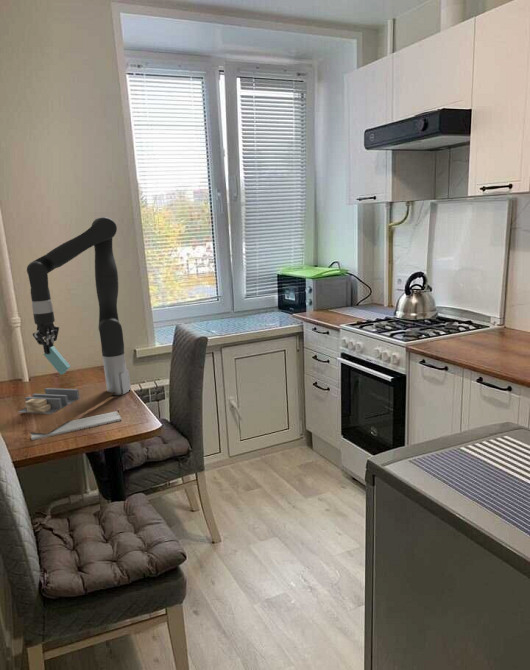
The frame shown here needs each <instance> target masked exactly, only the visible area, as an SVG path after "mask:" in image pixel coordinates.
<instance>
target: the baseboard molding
mask: <svg viewBox="0 0 530 670" xmlns="http://www.w3.org/2000/svg"><path fill="white" fill-rule="evenodd" d="M114 410H115V411H110V412H106V413H102V414H97V415H92V416H87V417H83V418H77V419H73V420H68V421H66V422H64V423H63V424H61V425H60V426H58V427H56V428H54V429H53V430H51V431H49V432H48V433H43V432H30V436H31V437H30V438H31V441H34V440H38V439H44V438H48V437H53V436H57V435H61V434H67V433H70V432H71V431H72V432H75V430H76V431H80V429H81V430H85V429H89V427H90V428H93V427H97V426H98V425H99V426H102V425H106V424H107V423H108V424H112V423H117V422H121V421H122V416H121V414H120V410H117V408H115V409H114ZM120 420H121V421H120ZM116 421H117V422H116ZM99 426H98V427H99ZM84 428H85V429H84ZM72 432H71V433H72Z"/></svg>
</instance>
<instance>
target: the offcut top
mask: <svg viewBox="0 0 530 670" xmlns="http://www.w3.org/2000/svg"><path fill="white" fill-rule="evenodd" d="M46 404H47V401H46V399H30V400H28V401H26V400H25V401H24V407H25V408H27V407H37V408H41V407H42V406H44V405H46Z"/></svg>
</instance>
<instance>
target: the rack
mask: <svg viewBox="0 0 530 670" xmlns="http://www.w3.org/2000/svg"><path fill="white" fill-rule="evenodd" d="M80 398H81V397H80V391H79V389H77V388H76V389H75V388H55V387H54V388H53V387H52V388H51V387H46V388H44V393H32V396H26V397H25V402H26V401H28V400H30V399H46V401H47V404H50V406H51V409H50V410H48V411H46V412H44V413H41V412H27V407H25V408H22V409H21V410H18V413H20V414H21V413H24V414H25V413H26V414H40V415H41V414H42V415H44V414H45V415H52V414H54V413H56V412H58V411H60V410H61V409H63V408H65V407H67V406H69V405H70V404H72V403H74V402H76V401H78V400H80Z"/></svg>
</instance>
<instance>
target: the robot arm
mask: <svg viewBox="0 0 530 670" xmlns="http://www.w3.org/2000/svg"><path fill="white" fill-rule="evenodd" d="M117 230H118V228H117V223H116V222H115V221H114V220H113V219H111V218H109V217H105V216H104V217H103V216H102V217H97V218H95V219H94V220H93V221H92V223H91V226H90V227H89V228H88V229H87V230H85V231H83V232H82V233H80V234H79V235H77V236H75V237H73V238H71V239H69V240H67V241H65V242H63V243H62V244H60V245H58V246H57V247H55V248H53V249H52V250H50V251H49V252H47V253H46V254H44V255H43V256H41V257H37V259H35V260H33V261H32V262H29V264H27V267H26V273H27V275H28V281H29V285H30V297H31V308H32V314H33V321H34V324H35V325H36V331H35V332H33V333H32V336H33V338H34V339H35V341H36V342H37V344H38V345H41V346H42V347H43V348H42V349H43V352H44V353H45V354H50V349H49V348H50V347H52V346H54V347H55V345H54V343H55V341H56V342H57V340H58V335H59V330H60V327H58V326H55V324H54V323H55V322H56V321H55V314H54V313H55V312H54V307H53V303H52V300H51V299H52V298H51V292H50V289H49V277H48V274H49V273H51V272H52V271H53V270H55V269H58V268H60V267H62V266H64V265H66V264H67V263H68V262H70V261H71V260H73V259H75V258H77V257H78V256H79V255H81V254H82V253H83V252H85V251H87V250H88V249H91V248H92V247H93V248H94V278H95V279H94V280H95V288H96V296H97V301H98V308H99V309H98V311H99V313H98V332H99V338H100V346H101V354H102V355H101V356H102V363H103V369H104V379H105V385H106V391H107V392H108V393H113V394H112V396H120V395H125V394H126V393H128V392H130V391H131V390H132V388H131V387H132V386H131V381H130V372H129V369H127V363H126V356H125V355H126V354H125V343H124V335H123V328H122V325H121V323H120V321H119V313H118V308H117V307H118V296H119V295H118V294H119V275H118V268H117V263H116V259H115V256H114V250H113V238H114V237H115V235H116V234H117ZM44 353H43V354H44ZM129 390H130V391H129Z"/></svg>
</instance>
